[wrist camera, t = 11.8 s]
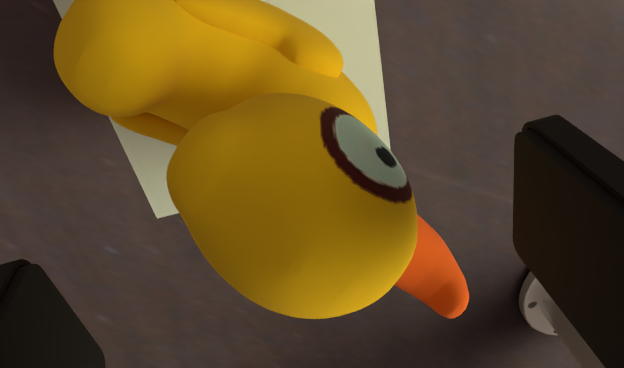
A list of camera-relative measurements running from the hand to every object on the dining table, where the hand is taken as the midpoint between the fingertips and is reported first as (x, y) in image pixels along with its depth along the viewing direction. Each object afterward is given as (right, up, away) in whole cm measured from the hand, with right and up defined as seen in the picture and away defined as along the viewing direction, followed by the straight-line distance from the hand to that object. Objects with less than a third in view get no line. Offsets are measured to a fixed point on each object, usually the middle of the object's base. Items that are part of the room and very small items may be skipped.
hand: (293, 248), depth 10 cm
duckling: (-2, +5, +8) cm, 10 cm away
